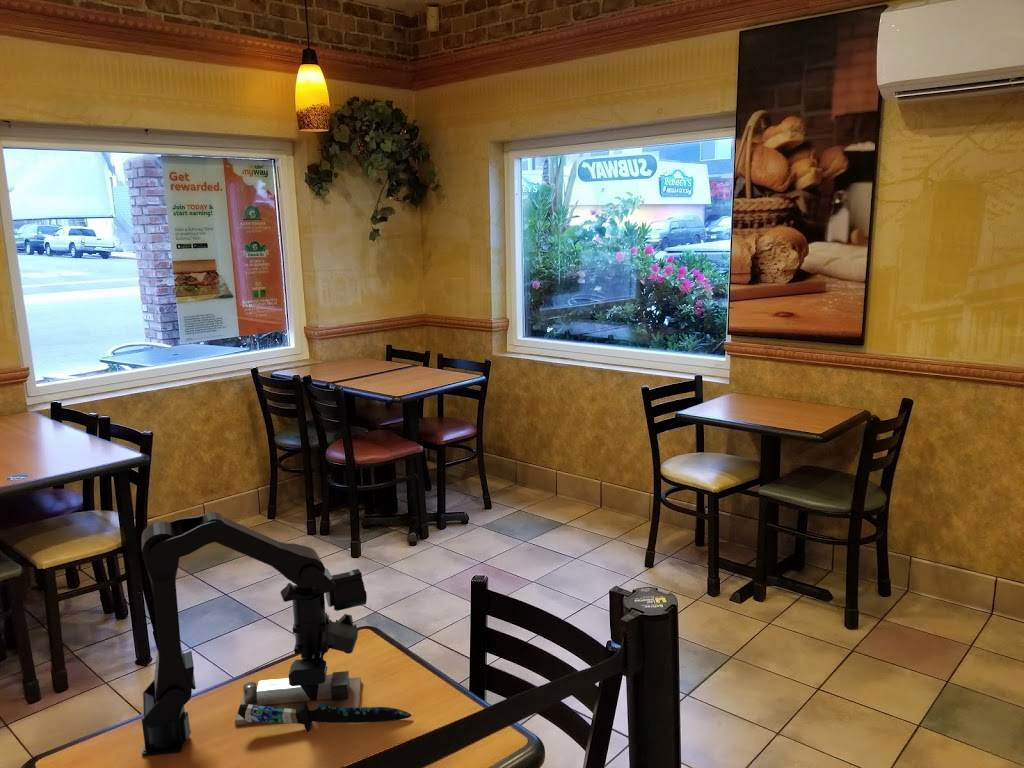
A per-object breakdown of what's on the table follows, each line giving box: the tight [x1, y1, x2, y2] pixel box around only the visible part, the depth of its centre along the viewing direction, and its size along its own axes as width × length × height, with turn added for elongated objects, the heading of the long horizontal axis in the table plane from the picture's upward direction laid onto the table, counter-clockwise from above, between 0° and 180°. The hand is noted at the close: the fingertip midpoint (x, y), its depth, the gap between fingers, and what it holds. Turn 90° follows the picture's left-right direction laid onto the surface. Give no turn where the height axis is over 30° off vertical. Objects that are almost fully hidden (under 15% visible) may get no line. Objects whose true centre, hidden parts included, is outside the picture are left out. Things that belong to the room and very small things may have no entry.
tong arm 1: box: [257, 678, 349, 706], centre depth 144 cm, size 16×2×3 cm, turn 98°
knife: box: [237, 701, 412, 733], centre depth 139 cm, size 31×3×4 cm, turn 93°
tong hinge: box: [242, 681, 258, 705], centre depth 144 cm, size 2×2×3 cm
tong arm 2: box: [257, 670, 350, 688], centre depth 147 cm, size 16×2×3 cm, turn 98°
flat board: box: [234, 676, 362, 726], centre depth 146 cm, size 22×10×1 cm, turn 98°
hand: (315, 690), depth 146 cm, fingers open, 5 cm apart
